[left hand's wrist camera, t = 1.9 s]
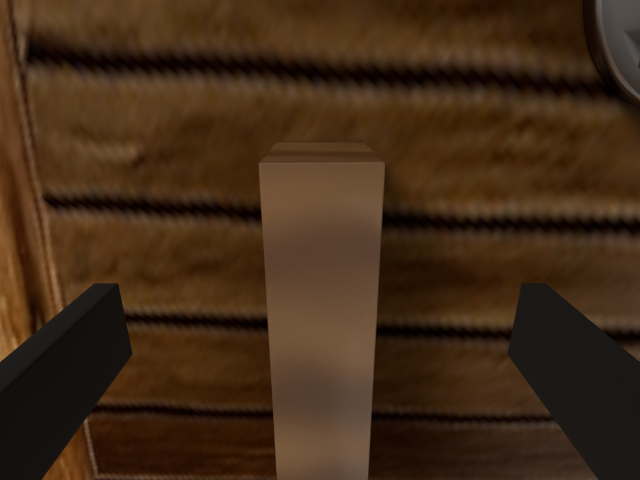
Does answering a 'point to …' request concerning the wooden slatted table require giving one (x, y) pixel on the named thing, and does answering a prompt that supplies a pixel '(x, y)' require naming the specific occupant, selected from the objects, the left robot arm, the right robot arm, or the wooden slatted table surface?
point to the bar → (322, 302)
